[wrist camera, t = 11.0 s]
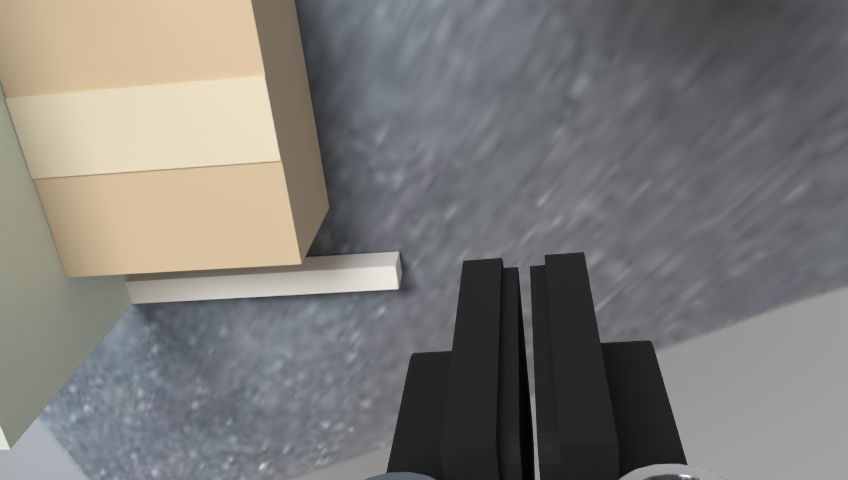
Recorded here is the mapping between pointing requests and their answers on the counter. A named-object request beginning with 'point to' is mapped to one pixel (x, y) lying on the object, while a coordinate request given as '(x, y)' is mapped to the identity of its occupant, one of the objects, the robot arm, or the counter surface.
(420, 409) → the robot arm
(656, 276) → the counter surface
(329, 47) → the counter surface
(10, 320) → the display stand
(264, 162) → the kraft carton
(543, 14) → the counter surface
